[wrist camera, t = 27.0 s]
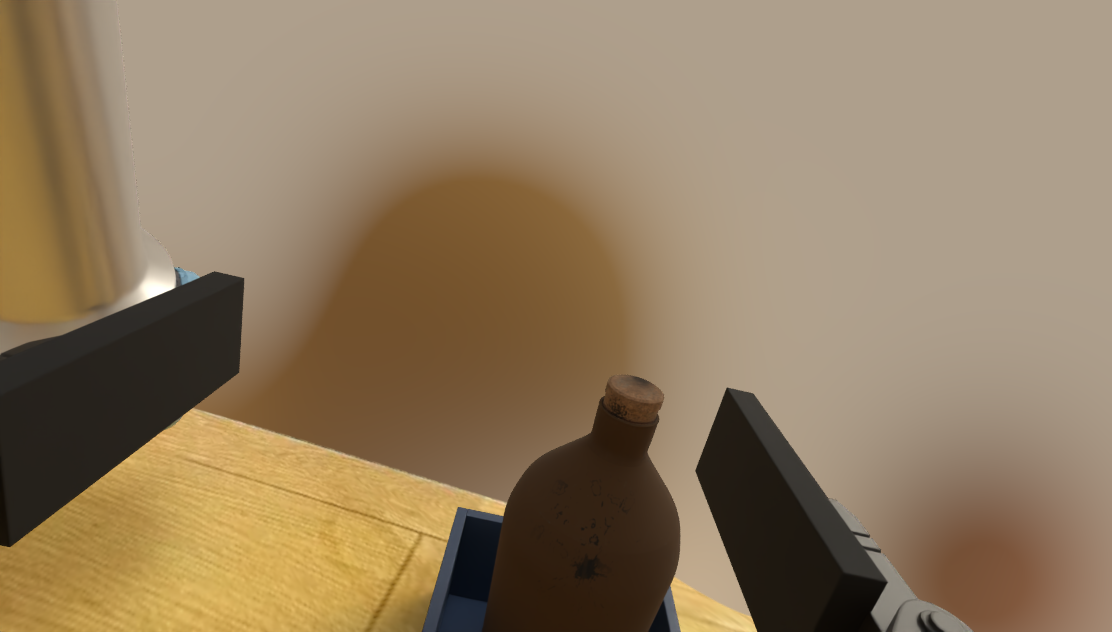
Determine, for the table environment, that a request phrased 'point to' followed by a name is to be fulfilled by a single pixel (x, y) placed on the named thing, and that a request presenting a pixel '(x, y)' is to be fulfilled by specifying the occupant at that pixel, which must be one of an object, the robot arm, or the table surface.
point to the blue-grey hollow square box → (486, 578)
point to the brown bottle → (590, 528)
